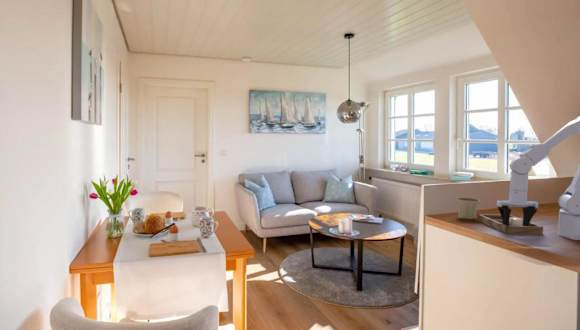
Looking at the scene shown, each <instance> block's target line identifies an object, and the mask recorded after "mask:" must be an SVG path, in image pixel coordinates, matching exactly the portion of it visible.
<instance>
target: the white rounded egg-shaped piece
mask: <svg viewBox="0 0 580 330" xmlns="http://www.w3.org/2000/svg"><path fill="white" fill-rule="evenodd" d="M509 226H523V218H521V217H520V218H519V217H517V218H514V217H511V218H510V220H509Z"/></svg>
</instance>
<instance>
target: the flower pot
mask: <svg viewBox="0 0 580 330" xmlns="http://www.w3.org/2000/svg"><path fill="white" fill-rule="evenodd" d="M455 198H456V203H457V210H458V211H457V212H458V218H459V219H469V220H473V219H476V218H475V217H476V213H477V210H478V206H479V203H480V202H481V200H480V199H477V198H471V197H455Z"/></svg>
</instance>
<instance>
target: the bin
mask: <svg viewBox="0 0 580 330" xmlns="http://www.w3.org/2000/svg"><path fill="white" fill-rule="evenodd" d="M511 217H514V218H518V217H517V216H515V215H512V214H510V216H509V220H510V218H511ZM477 222H479V223H481V224H483V225H486V226H488V227H490V228H492V229H495V230H497V231H499V232H501V233H504V234H506V235H543V234H544V226H541V225H539V224H536V223H533V222H531V221H530V223H529V226H509V224H508V226H506V225H504V224H503V221H502V217H501V214H488V213H487V214H483V213H482V214H481V213H478V214H477Z"/></svg>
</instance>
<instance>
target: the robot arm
mask: <svg viewBox="0 0 580 330" xmlns="http://www.w3.org/2000/svg"><path fill="white" fill-rule="evenodd" d="M575 135H580V116H579V115H578V117H576V118H575V119H574V120H573V119H572V120H571V121H569V122H568V123H566V125H564V126H562V127H561V128H560V129H559V130H558V131H556V132H555V133H553V134H552V136H550V137H549V138H548V139H547V140H545V141H544V142H542V143H540V142H538V143H535V144H531V145H530V146H529V147H530V148H528V149H527V150H526V151H525V152H523V153H520V154H518V157H516V158H514V159H512V161H511V163H510V164H509V168H510V170H511V173H510V182H509V195H508V200H496V207H497V209H498V211H499V213H500V214H499V215H501V217H502V221H503V224H504V225H506V226H508V224H509V216H510V215H511V211H512V209H511V208H512V207H514V208H522V215H523V216H522V217H523V218H522V219H523V226H529V223H530V222H531V220H532V218H533V217H534V215H536V213H537V211H538V208H539V202H538V201H530V200H529V201H528V187H529V172H531V170H532V168H533V167H535V166H536V165H538V164H539V163H541V161H543V160H544V159H546V158H547V157H548V156H549V155H550V151H551V150H552V149H554V147H557V145H559V144H561V143H562V142H563V141H565V140H567V139H568V138H569V137H571V136H575ZM557 203H558V205H559V207H560V209H559V213H558V226H557V235H558V236H560V237H565V238H567V239H570V240H574V241H578V240H579V241H580V164H579V165H578V168H577V170H576V172H575V174H574V177H573V179H572V181H571V183H570V185H569V186H568V187H567V188H566V189H565V192H564V193H562V195H560V196H559V197H558V202H557Z"/></svg>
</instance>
